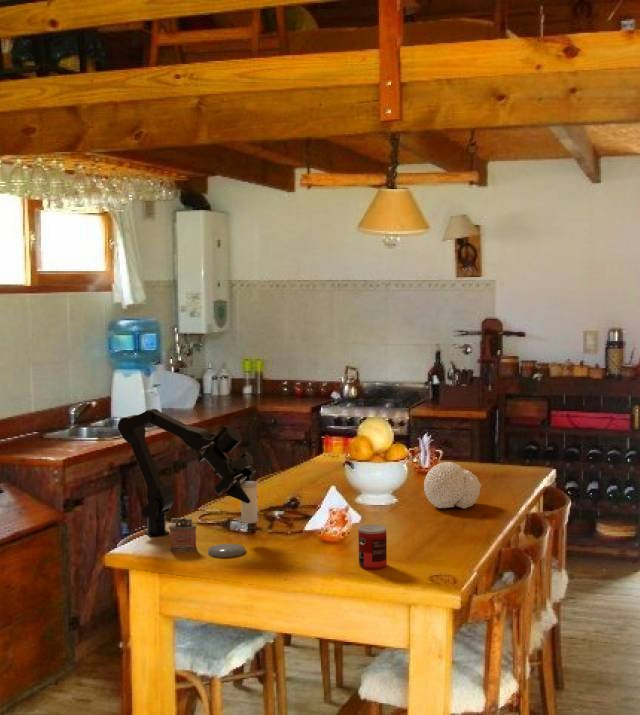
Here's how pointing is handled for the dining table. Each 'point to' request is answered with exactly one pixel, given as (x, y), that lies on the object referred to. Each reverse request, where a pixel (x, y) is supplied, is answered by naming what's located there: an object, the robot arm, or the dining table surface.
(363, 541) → the canned food
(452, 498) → the beige brain coral
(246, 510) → the salt shaker
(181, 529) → the lighter
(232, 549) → the disc
